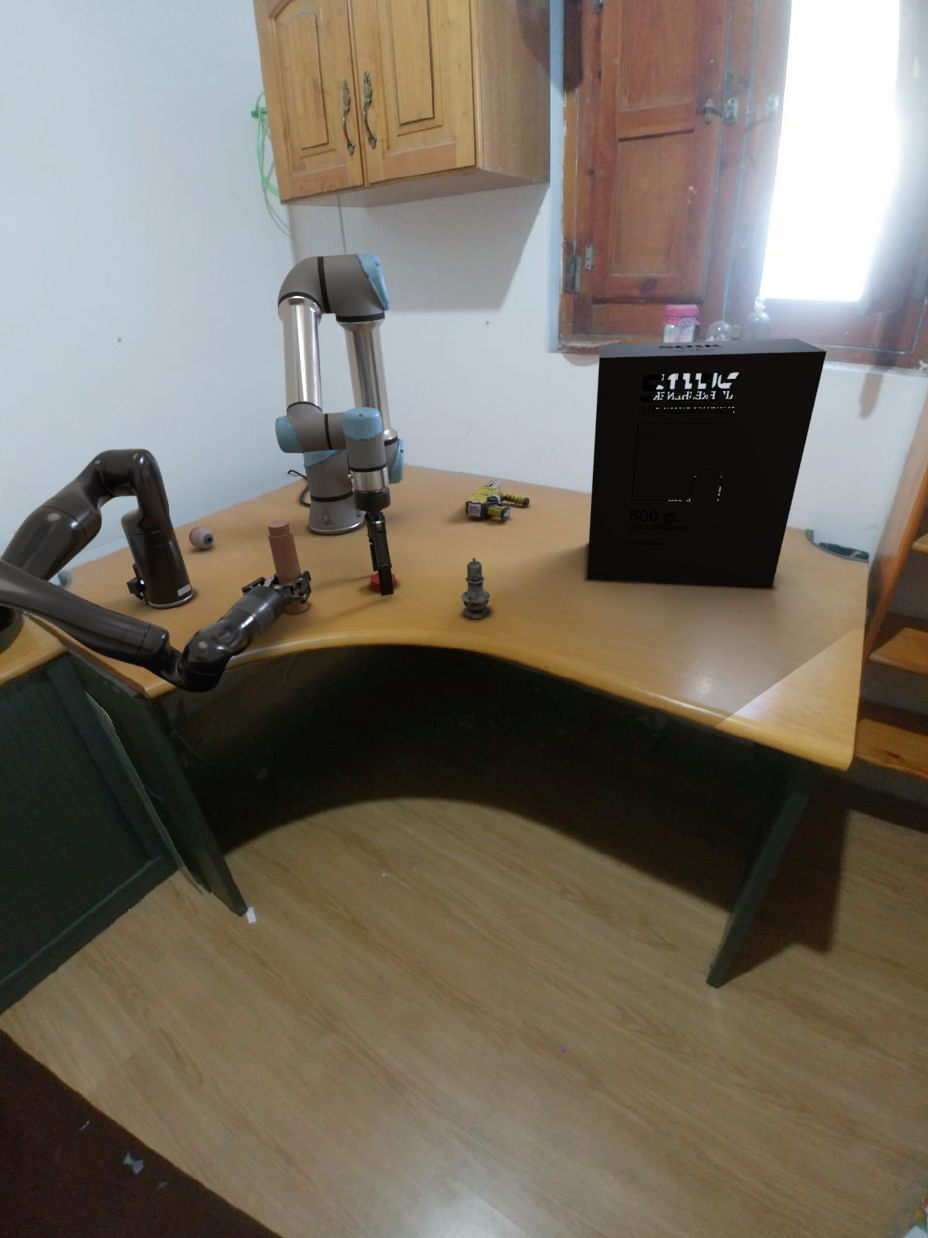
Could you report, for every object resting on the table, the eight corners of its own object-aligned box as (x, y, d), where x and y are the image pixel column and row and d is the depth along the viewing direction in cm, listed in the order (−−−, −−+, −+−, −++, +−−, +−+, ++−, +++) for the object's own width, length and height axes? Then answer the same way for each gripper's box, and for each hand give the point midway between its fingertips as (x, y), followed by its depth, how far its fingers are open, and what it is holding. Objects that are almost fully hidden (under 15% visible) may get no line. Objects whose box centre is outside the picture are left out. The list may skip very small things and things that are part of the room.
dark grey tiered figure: (488, 619, 119) (486, 564, 113) (459, 618, 120) (455, 563, 114) (493, 605, 124) (491, 551, 118) (465, 604, 125) (462, 550, 119)
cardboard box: (752, 548, 142) (795, 338, 119) (772, 587, 124) (826, 351, 102) (589, 543, 149) (600, 344, 127) (586, 579, 132) (599, 357, 110)
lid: (401, 582, 136) (400, 574, 135) (387, 593, 132) (386, 585, 131) (380, 578, 138) (379, 570, 137) (366, 589, 134) (364, 580, 133)
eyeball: (203, 554, 156) (196, 532, 153) (187, 550, 159) (181, 528, 156) (222, 546, 160) (216, 524, 157) (206, 542, 163) (200, 521, 160)
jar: (289, 616, 125) (270, 529, 116) (281, 607, 129) (261, 523, 119) (311, 608, 127) (294, 523, 118) (302, 600, 131) (285, 517, 121)
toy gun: (537, 485, 181) (489, 478, 185) (516, 509, 160) (463, 500, 164) (535, 500, 183) (488, 493, 187) (515, 526, 163) (463, 517, 167)
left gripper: (225, 628, 116) (269, 587, 130) (293, 633, 113) (330, 591, 127) (215, 593, 112) (261, 556, 127) (285, 598, 109) (324, 559, 123)
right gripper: (346, 474, 133) (360, 562, 144) (359, 509, 113) (373, 609, 124) (380, 470, 135) (391, 558, 146) (398, 503, 114) (409, 603, 125)
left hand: (296, 574), depth 127 cm, fingers closed on jar, 5 cm apart
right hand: (383, 581), depth 135 cm, fingers open, 12 cm apart
